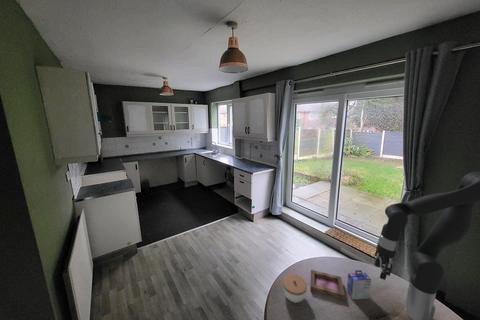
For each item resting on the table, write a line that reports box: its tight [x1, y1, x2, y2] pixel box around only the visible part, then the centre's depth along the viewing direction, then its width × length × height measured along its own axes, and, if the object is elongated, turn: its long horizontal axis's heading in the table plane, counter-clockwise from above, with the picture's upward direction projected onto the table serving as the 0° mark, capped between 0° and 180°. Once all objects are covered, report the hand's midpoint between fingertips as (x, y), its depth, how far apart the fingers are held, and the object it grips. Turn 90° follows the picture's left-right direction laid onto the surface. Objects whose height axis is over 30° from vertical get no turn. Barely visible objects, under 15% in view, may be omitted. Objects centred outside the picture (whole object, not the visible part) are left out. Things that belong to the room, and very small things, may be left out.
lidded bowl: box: [282, 273, 308, 304], centre depth 104 cm, size 13×13×11 cm
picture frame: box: [309, 269, 345, 302], centre depth 111 cm, size 17×13×4 cm
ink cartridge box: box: [346, 269, 372, 300], centre depth 104 cm, size 10×6×14 cm, turn 91°
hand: (379, 272), depth 97 cm, fingers open, 8 cm apart
